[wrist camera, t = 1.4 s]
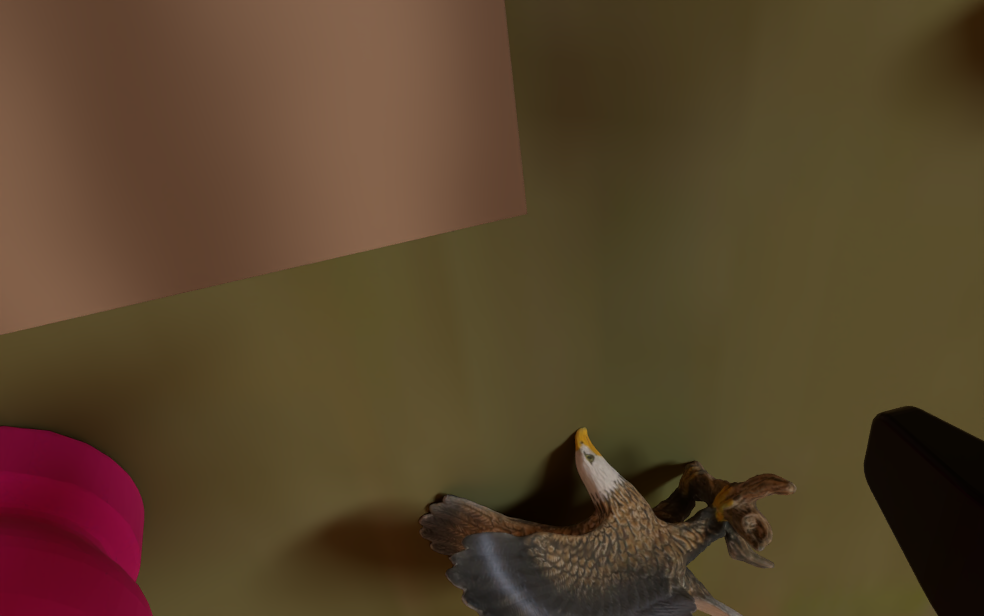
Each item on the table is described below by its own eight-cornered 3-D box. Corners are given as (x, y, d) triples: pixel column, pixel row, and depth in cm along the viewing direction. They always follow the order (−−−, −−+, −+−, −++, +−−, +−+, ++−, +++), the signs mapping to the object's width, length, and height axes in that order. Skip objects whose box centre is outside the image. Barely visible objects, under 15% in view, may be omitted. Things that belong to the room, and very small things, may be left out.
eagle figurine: (720, 344, 25) (408, 483, 22) (865, 600, 23) (536, 779, 20) (646, 418, 32) (403, 528, 29) (752, 617, 30) (499, 751, 27)
